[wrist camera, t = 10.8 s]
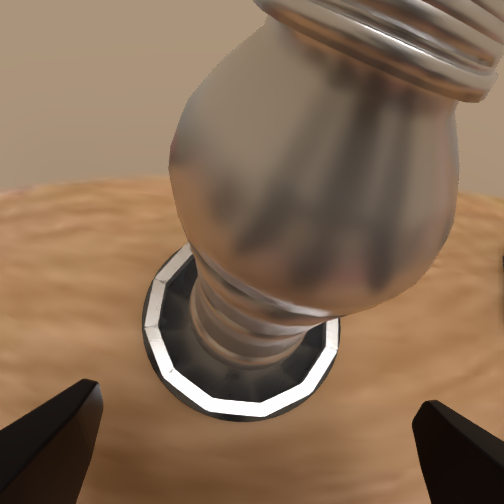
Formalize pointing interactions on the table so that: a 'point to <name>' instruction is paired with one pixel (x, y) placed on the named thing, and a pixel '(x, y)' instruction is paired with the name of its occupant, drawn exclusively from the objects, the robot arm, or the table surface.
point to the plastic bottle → (324, 164)
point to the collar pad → (214, 372)
